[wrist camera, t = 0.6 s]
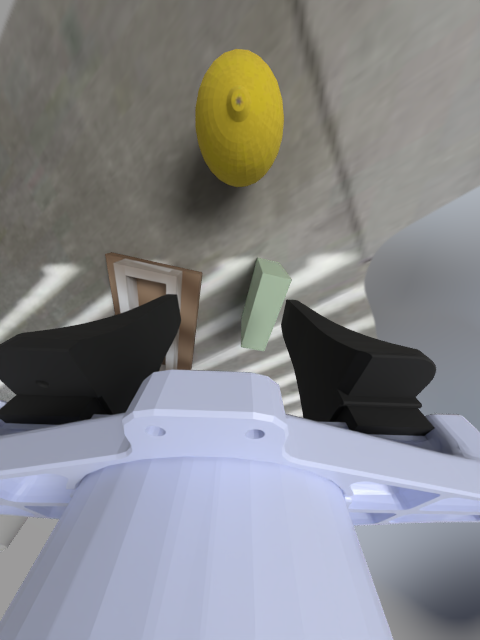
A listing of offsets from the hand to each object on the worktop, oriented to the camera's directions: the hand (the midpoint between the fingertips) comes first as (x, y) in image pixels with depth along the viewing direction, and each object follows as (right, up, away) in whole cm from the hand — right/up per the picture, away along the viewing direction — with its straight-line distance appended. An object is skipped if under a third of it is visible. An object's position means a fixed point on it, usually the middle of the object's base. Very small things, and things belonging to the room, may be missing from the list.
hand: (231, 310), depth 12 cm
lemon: (+1, +14, +3) cm, 14 cm away
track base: (-10, -1, +12) cm, 16 cm away
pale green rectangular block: (+3, +3, +10) cm, 11 cm away
